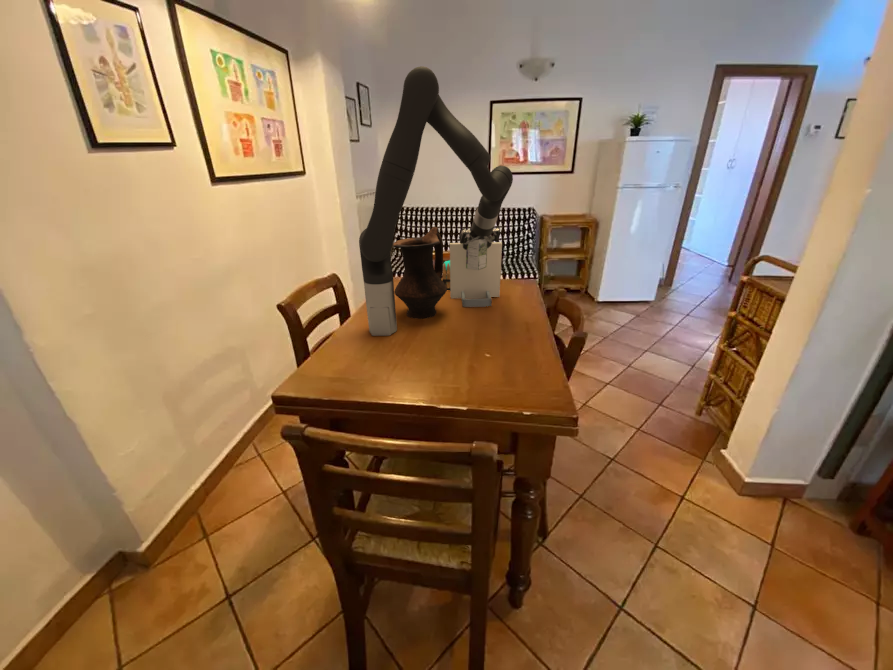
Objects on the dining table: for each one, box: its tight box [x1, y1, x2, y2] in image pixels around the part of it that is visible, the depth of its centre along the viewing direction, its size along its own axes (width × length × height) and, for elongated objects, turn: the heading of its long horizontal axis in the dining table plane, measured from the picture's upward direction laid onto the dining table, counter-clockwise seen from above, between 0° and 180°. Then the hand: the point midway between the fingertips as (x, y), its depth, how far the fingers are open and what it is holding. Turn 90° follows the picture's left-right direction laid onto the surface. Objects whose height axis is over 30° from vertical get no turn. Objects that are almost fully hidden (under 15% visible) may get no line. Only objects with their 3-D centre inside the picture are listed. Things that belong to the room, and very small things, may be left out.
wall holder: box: [449, 241, 503, 308], centre depth 143 cm, size 12×20×22 cm, turn 90°
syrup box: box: [466, 228, 487, 270], centre depth 139 cm, size 6×6×14 cm
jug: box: [392, 226, 448, 320], centre depth 130 cm, size 21×18×30 cm
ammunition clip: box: [442, 262, 450, 290], centre depth 159 cm, size 11×2×12 cm, turn 81°
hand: (475, 247), depth 140 cm, fingers closed on syrup box, 8 cm apart
